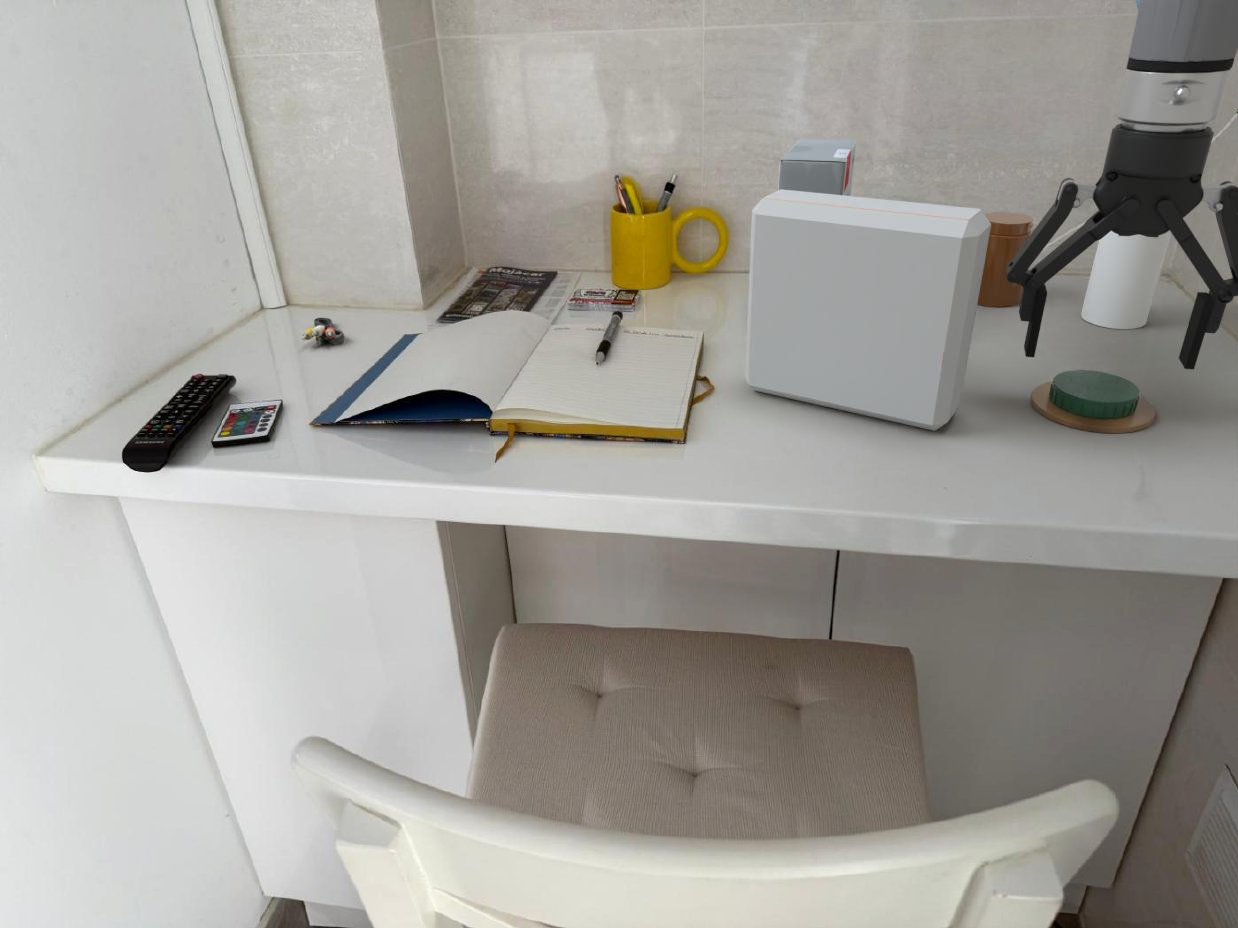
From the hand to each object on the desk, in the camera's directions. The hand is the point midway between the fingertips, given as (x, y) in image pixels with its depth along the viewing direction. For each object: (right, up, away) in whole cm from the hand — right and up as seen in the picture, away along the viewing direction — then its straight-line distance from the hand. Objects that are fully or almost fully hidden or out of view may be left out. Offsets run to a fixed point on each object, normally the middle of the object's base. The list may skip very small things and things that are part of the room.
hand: (1105, 358), depth 84 cm
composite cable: (-84, +6, +27) cm, 88 cm away
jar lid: (0, -3, +1) cm, 3 cm away
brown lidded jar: (+2, +12, +31) cm, 33 cm away
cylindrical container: (+14, +7, +23) cm, 28 cm away
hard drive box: (-22, +10, +30) cm, 39 cm away
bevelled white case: (-23, -4, +6) cm, 24 cm away
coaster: (0, -5, +2) cm, 5 cm away
